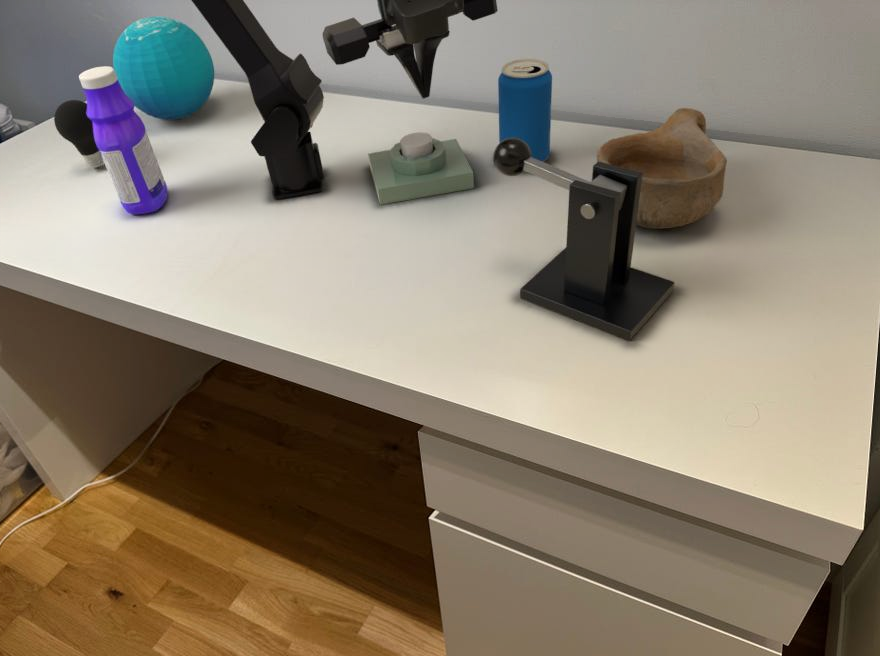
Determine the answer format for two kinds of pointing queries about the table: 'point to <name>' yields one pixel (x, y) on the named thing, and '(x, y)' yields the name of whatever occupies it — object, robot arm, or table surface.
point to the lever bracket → (600, 261)
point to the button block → (420, 172)
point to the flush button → (416, 145)
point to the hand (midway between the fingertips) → (425, 97)
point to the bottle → (123, 142)
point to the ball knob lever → (542, 167)
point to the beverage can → (526, 104)
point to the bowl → (672, 169)
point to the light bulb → (78, 130)
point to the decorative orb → (163, 67)
